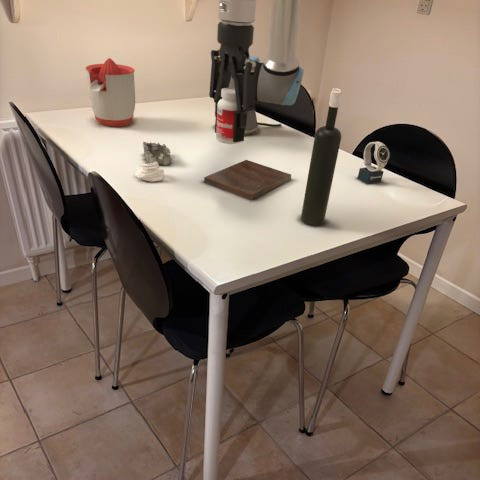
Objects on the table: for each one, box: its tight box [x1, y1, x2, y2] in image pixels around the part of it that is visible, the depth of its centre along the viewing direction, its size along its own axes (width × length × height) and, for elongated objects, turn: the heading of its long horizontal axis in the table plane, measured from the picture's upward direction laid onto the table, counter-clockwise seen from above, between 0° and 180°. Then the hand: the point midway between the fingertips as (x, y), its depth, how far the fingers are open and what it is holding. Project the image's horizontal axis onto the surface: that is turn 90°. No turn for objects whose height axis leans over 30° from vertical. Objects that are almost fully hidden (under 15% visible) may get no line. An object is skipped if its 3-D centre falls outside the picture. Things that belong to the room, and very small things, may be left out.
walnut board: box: [203, 159, 292, 201], centre depth 134 cm, size 20×16×2 cm
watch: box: [356, 141, 391, 185], centre depth 139 cm, size 6×8×11 cm
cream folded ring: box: [134, 162, 165, 183], centre depth 129 cm, size 8×7×5 cm
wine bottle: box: [300, 87, 343, 227], centre depth 108 cm, size 6×6×30 cm
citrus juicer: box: [85, 57, 136, 128], centre depth 160 cm, size 16×17×20 cm
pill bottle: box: [215, 88, 243, 145], centre depth 110 cm, size 6×6×11 cm
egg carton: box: [142, 141, 172, 166], centre depth 141 cm, size 11×8×4 cm
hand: (229, 136), depth 113 cm, fingers closed on pill bottle, 6 cm apart
